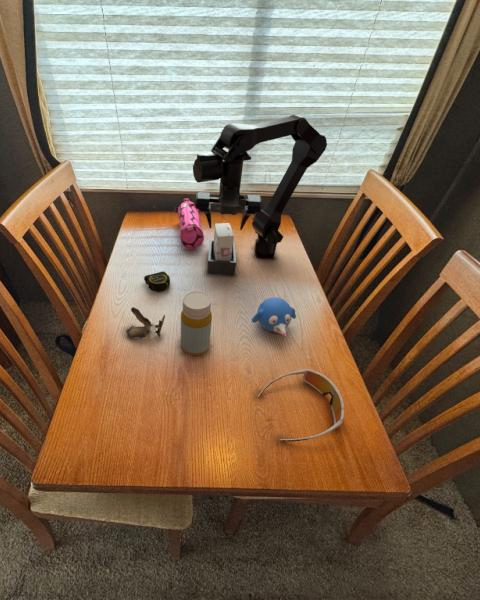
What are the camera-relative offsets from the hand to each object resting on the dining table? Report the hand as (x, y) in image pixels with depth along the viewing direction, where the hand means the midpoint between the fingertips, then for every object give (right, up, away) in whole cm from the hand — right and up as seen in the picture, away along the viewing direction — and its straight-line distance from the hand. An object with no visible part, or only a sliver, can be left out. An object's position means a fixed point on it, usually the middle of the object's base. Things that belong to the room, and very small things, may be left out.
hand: (225, 228), depth 98 cm
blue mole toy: (+11, -30, -14) cm, 35 cm away
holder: (-1, -10, +8) cm, 13 cm away
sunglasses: (+12, -44, -31) cm, 56 cm away
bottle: (-9, -33, -19) cm, 39 cm away
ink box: (-1, -9, +8) cm, 12 cm away
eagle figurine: (-22, -30, -16) cm, 41 cm away
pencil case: (-11, +2, +21) cm, 24 cm away
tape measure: (-21, -18, -1) cm, 27 cm away
